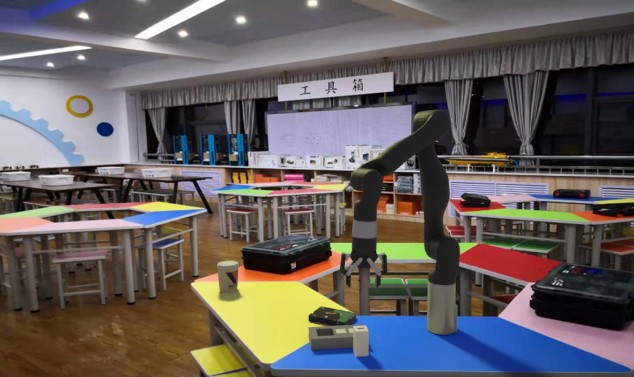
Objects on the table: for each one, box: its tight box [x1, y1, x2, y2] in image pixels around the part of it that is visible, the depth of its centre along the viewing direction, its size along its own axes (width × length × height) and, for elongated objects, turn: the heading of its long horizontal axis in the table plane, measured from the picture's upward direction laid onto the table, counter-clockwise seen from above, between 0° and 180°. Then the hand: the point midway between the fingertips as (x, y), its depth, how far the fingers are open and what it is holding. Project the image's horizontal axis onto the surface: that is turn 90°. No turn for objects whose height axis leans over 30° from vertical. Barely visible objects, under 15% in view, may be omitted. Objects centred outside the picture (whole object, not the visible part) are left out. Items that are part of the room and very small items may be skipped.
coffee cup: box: [216, 260, 240, 293], centre depth 194 cm, size 9×9×12 cm
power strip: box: [308, 324, 363, 351], centre depth 143 cm, size 18×9×4 cm, turn 96°
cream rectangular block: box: [352, 325, 370, 358], centre depth 135 cm, size 4×4×8 cm
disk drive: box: [308, 306, 357, 326], centre depth 162 cm, size 10×3×15 cm
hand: (362, 286), depth 135 cm, fingers open, 8 cm apart
